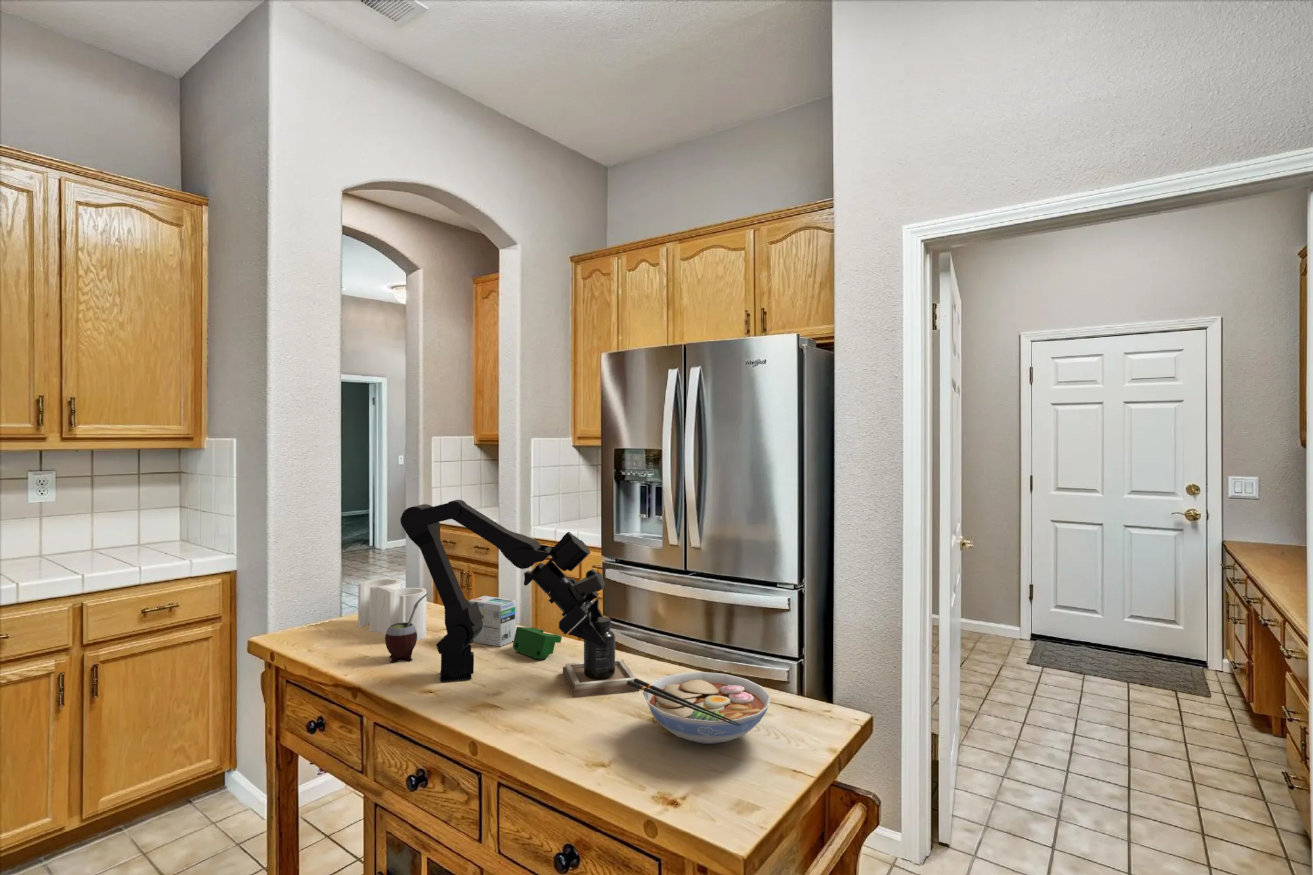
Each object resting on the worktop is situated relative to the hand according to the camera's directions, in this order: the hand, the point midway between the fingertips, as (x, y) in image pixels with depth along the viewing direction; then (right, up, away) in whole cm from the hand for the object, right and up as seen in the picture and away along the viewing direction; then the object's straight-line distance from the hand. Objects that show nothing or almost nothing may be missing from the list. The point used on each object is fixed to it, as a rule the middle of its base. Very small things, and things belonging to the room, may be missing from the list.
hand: (606, 637), depth 142 cm
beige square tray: (-1, -10, 0) cm, 10 cm away
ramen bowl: (+20, -10, -25) cm, 33 cm away
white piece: (-60, -9, +35) cm, 70 cm away
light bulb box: (-32, -9, +27) cm, 43 cm away
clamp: (-18, -10, +18) cm, 28 cm away
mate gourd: (-49, -9, +13) cm, 51 cm away
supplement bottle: (-2, -8, 0) cm, 8 cm away
